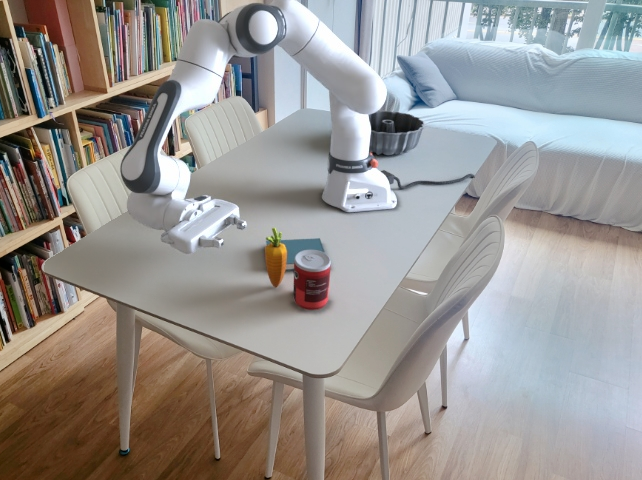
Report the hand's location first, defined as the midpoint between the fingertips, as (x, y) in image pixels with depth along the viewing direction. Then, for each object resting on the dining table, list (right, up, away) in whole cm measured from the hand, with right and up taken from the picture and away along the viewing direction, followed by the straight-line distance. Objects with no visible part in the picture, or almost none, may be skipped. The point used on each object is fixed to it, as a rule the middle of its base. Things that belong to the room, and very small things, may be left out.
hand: (233, 234), depth 119 cm
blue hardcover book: (+14, -5, +12) cm, 19 cm away
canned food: (+18, -15, -2) cm, 23 cm away
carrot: (+10, -12, +2) cm, 16 cm away
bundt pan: (+48, +39, +76) cm, 98 cm away
